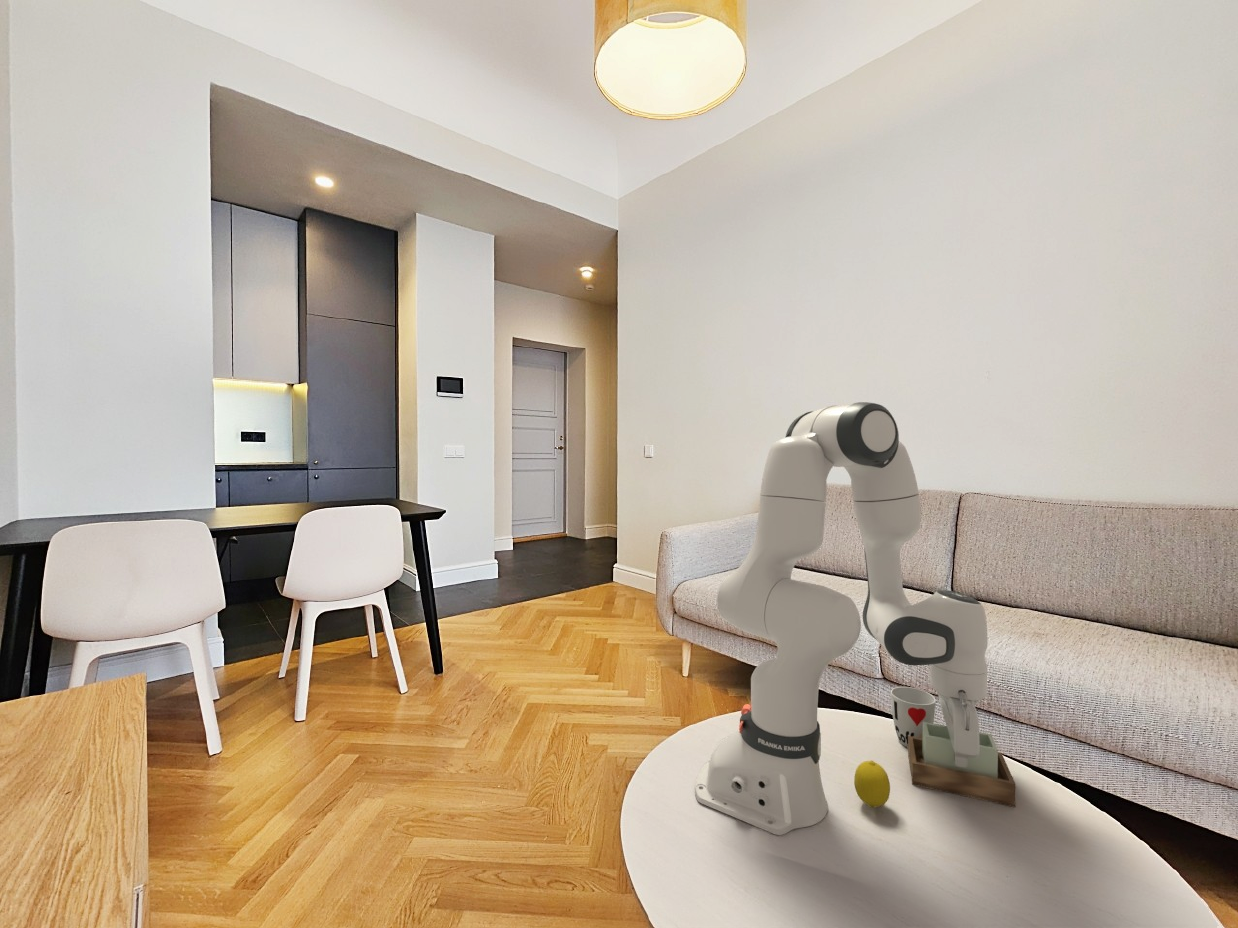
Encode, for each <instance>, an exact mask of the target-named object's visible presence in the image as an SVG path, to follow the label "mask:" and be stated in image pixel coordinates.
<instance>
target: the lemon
mask: <svg viewBox="0 0 1238 928" xmlns="http://www.w3.org/2000/svg"><path fill="white" fill-rule="evenodd" d="M853 779H854V782H853V783H854V789H855V793H856V795H857V796H858V797H859V800H861V802H862V803H864V804H866V805H868V806H869V807H870V808H871V809H874V808H879V807H882V806H884V805H885V804H886V803H887V802H888V801H889V798H890V795H891V794H890V793H891V783H890V779H889V776H888V773H887V772H886V770H885V769H884V767H883V766H881V765H880V764H879V763H877V762H875V761H874V760H866V761H863V762H861V763H859V764H858V766H857V767H856V769H855V773H854V778H853Z"/></svg>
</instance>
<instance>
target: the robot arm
mask: <svg viewBox="0 0 1238 928" xmlns="http://www.w3.org/2000/svg"><path fill="white" fill-rule="evenodd" d="M899 433H900V432H899V429H898V425H897V422H896V420H895V417H894V416H893V415H892V413H891V412H890V410H889V409H887V408H886V407H885V406H884V405H881V404H879V403H875V402H867V401H866V402H863V401H861V402H860V401H859V402H854V403H852V404H842V405H830V406H826V407H822V408H819V409H816V410H814V411H813V410H812V411H807V412H805V413H802V414H801V415H799V416H798V417H796V418H795V419H794V420H793V421H792V422H791V424H790V425H789V427H788V429H787V431H786V433H785V437H782V438H780V439H778V440H777V441H775V442H774V443H773V444H772V445H771V446H770V448H769V450H768V453H767V458H766V461H765V465H764V469H763V474H762V479H761V480H762V481H761V484H760V486H761V487H760V494H759V503H758V506H759V507H758V514H757V515H758V516H757V522H756V530H755V534H754V540H753V542H752V545H751V548H750V550H749V552H748V554H747V556H746V557H745V559H744V560H743V562H742V563H741V565H739V567H738V568H737V569H735V570H734V571H732V572H731V573H730V574H728V575H727V576H725V578H724V579H723V580H722V582H721V583H720V584H719V587H718V590H717V594H716V605H717V610H718V613H719V616H720V617H721V619H723V621H725V622H726V623H728V624H729V625H732V626H733V627H735V628H736V629H739V631H742V632H744V633H747V634H750V635H754V636H757V637H760V638H763V639H766V640H769V641H773V642H775V644H776V646H777V647H776V648H777V653H776V657H773V658H770V659H767V660H764V661H762V662H761V663H760V664H758V665H757V666H756V667H755V669H754V670H753V672H752V674H751V677H750V704H749V703H746V704H744V705H743V706H742V709H741V711H740V715H741V716H740V718H739V724H738V727H739V728H738V731H736V732H735V733H732V734H730V735H729V736H726V737H724V738H722V739H721V740H720V741H719V742H718V743H717V744H716V746H715V748H714V749H713V751H712V754H711V755H710V759H709V760H708V761H707V762H706V763H704V765H702V767H701V769H700V771H699V772H698V774H697V777H696V780H695V785H694V786H695V787H694V794H695V798H696V800H697V802H699V803H700V804H702V805H704V806H707V807H708V808H711V809H714V810H717V812H720V813H723V814H725V815H728V816H731V817H733V818H736V819H737V820H740V821H743V822H745V823H747V824H749V825H751V826H755V827H757V828H759V829H761V830H764V831H766V832H769V833H771V834H773V835H776V836H783V835H784V834H788V833H789V832H790V831H793V830H794V829H798V828H805V827H810V826H814V825H816V824H818V823H819V822H821V821H822V820H823V819H824V818H825V817H826V815H827V813H828V810H829V805H828V802H827V798H826V795H825V790H824V787H823V782H822V776H821V769H820V758H821V755H822V754H821V753H822V749H821V747H822V736H821V735H822V733H821V726H820V723H819V720H818V706H819V705H818V703H819V689H820V682H821V679H822V676H823V674H824V672H825V669H826V668H827V667H828V666H829V664H830V663H832V662H833V661H834V660H836V659H837V658H839V657H842V656H844V655H845V654H847V653H848V652H849V651H850V650H852V649H853V648H854V646H855V645H856V644H857V641H858V640H859V637H860V635H861V630H862V629H861V628H862V624H863V625H864V628H865V630H866V631H867V633H868V634H869V635H870V636H871V637H872V638H874V639H875V641H877V642H878V643H879V644H880V646H881V647H882V648H883V649H884V650H885V651H886V652H887V654H888V655H889V656H890V657H892V659H894V661H895V660H896V661H897V662H898V663H901V664H904V665H907V666H914V667H915V666H928V665H929V666H930V667H929V670H930V671H929V672H930V673H929V675H930V676H929V677H930V678H929V680H930V681H929V684H930V687H931V688H932V689H933V690H935V691H936V692H937V696H938V697H937V698H938V701H939V705H940V709H941V712H942V715H943V719H944V722H945V726H947V729H948V733H949V736H950V739H951V743H952V746H953V749H954V761H955V764H956V765H957V766H959V767H964V768H965V767H967V758H968V757H972V758H978V756H979V752H980V744H979V732H980V721H979V714H978V712H977V708H976V706H978V705H979V701H981V700H984V699H985V698H987V696H988V666H987V662H986V657H985V655H986V652H987V649H988V624H987V615H986V611H985V608H984V606H983V604H982V603H981V602H980V601H978V600H977V599H975V598H974V597H971V596H970V595H967V594H964V593H962V592H958V591H954V590H948V589H942V590H940V589H939V590H936V591H935V592H934V593H933V594H932V595H931V596H929V597H927V598H926V599H923V600H922V601H920V602H917V603H914V604H912V603H910V601H909V599H908V598H907V596H906V594H905V591H904V587H903V579H902V578H903V577H902V567H901V549H902V547H903V545H904V544H905V543H907V542H908V541H910V540H911V539H912V538H914V536H916V534H917V533H918V532H919V530H920V527H921V517H922V509H921V507H922V506H921V499H920V494H919V493H920V492H919V488H918V483H917V478H916V474H915V470H914V467H913V464H912V461H911V458H910V455H909V452H908V451H907V449H906V446H905V445H904V444H903V443H902V441H900V437H899V435H900V434H899ZM833 467H834V468H835V467H837V468H844V469H845V470H846V472H847V473H848V475H849V477H850V484H851V485H850V486H851V493H852V502H853V507H854V512H855V517H856V521H857V525H858V529H859V532H860V536H861V540H862V544H863V548H864V549H863V550H864V559H865V560H864V561H865V569H866V570H865V571H866V580H867V595H866V600H865V603H864V606H863V610H862V619H861V615H860V612H859V609H858V607H857V605H856V604H855V602H854V600H853V599H852V598H851V597H849V596H848V595H845V594H843V593H841V592H839V591H837V590H834V589H832V588H829V587H827V586H825V585H820V584H815V583H810V582H805V581H801V580H796V579H792V573H793V570H794V568H795V565H796V564H797V562H798V561H799V560H802V559H805V558H808V557H810V556H812V555H814V554H815V553H816V552H817V551H818V550H819V549H820V548H821V546H822V544H823V541H824V534H825V533H824V531H825V518H826V517H825V516H826V506H827V505H826V504H827V479H828V476H829V474H830V472H831V470H832V468H833ZM861 620H862V622H863V623H862V622H861Z"/></svg>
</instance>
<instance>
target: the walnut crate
mask: <svg viewBox="0 0 1238 928" xmlns="http://www.w3.org/2000/svg"><path fill="white" fill-rule="evenodd" d="M922 744H923V739H922V738H917V737H912V736H908V747H907V749H908V750H907V756H908V764H909V771H910V777H911V784H912V785H913V786H917V787H922V788H927V789H931V790H936V791H939V792H944V793H949V794H954V795H959V796H963V797H967V798H971V799H976V800H981V801H985V802H989V803H993V804H999V805H1005V806H1007V807H1012V808H1013V807H1014V808H1016V791H1017V789H1016V788H1017V787H1016V782H1015V780H1014V777H1013V776H1012V774H1011V771H1010V769H1009V767H1008V764H1007V762H1006V760H1005V758H1004V755H1003V753H1002V752H998V775H997V778H993V777H988V776H984V775H979V774H974V773H969V772H964V771H959V770H954V769H949V768H944V767H940V766H935V765H930V764H925V763H924V758H923V752H922Z"/></svg>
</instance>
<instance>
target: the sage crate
mask: <svg viewBox="0 0 1238 928" xmlns="http://www.w3.org/2000/svg"><path fill="white" fill-rule="evenodd" d="M979 744H980V752H979V756H978V758H972V757H968V758H967V767H965V768H964V767H959V766H957V765H956V764H955V761H954V749H953V746H952V743H951V739H950V736H949V733H948V729H947V726H946V725H943V724H938V723H927V722H923V744H922V752H923V758H924V763H925V764H930V765H935V766H940V767H944V768H949V769H954V770H959V771H964V772H969V773H974V774H979V775H984V776H988V777H993V778H997V775H998V753H999V749H998V747H997V745H996V743H995V740H994V738H993V734H991V733H988V732H981V731H979Z"/></svg>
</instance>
